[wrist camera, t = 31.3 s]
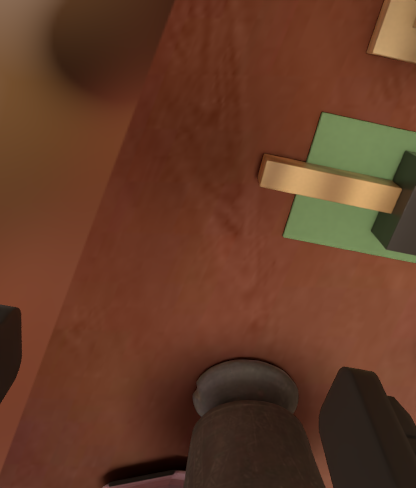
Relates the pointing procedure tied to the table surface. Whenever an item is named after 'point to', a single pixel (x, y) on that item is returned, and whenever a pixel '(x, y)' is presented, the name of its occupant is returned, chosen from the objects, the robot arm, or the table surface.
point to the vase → (248, 431)
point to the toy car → (152, 481)
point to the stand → (395, 31)
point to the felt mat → (354, 160)
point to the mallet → (354, 194)
